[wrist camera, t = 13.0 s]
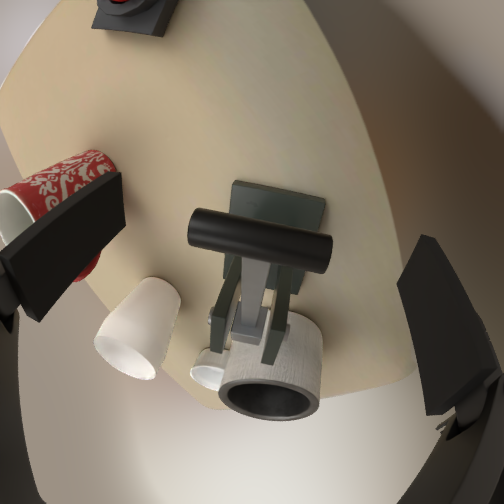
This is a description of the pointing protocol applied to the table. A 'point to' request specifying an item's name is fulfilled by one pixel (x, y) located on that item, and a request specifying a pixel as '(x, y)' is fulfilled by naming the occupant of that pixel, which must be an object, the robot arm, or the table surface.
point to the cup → (140, 329)
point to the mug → (49, 194)
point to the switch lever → (257, 258)
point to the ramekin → (209, 368)
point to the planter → (276, 375)
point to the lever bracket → (280, 277)
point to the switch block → (134, 16)
